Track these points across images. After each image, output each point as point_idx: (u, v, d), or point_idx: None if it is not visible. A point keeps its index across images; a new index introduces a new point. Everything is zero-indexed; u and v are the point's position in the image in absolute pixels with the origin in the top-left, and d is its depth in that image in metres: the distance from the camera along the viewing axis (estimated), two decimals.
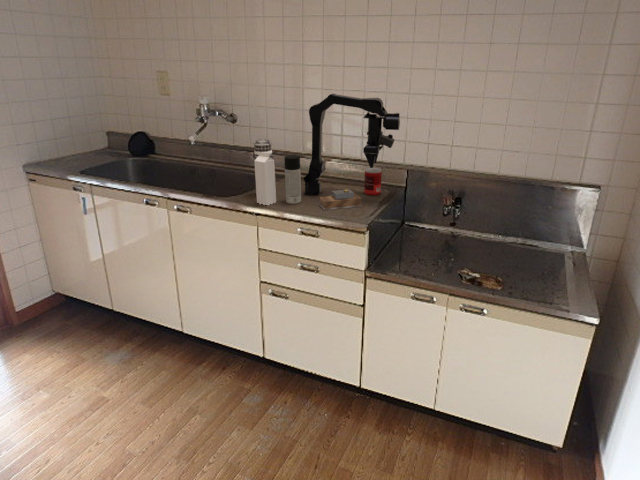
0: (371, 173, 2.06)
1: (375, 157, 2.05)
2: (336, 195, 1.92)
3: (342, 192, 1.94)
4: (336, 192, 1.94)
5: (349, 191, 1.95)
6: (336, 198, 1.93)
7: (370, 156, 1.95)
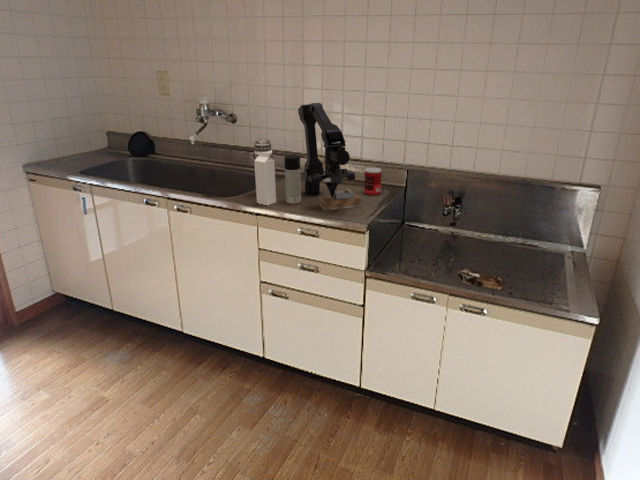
0: (371, 173, 2.06)
1: None
2: (337, 195, 1.92)
3: (343, 192, 1.94)
4: (337, 192, 1.94)
5: (350, 191, 1.95)
6: (337, 198, 1.93)
7: None
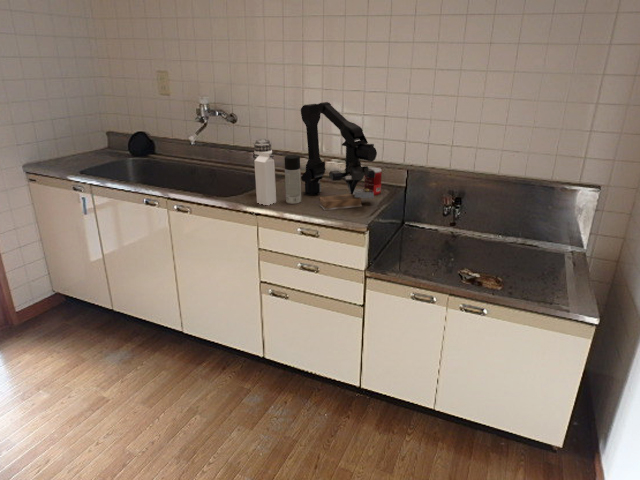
0: None
1: None
2: (356, 193, 1.94)
3: (362, 191, 1.96)
4: (357, 190, 1.96)
5: (370, 191, 1.97)
6: (355, 196, 1.95)
7: None
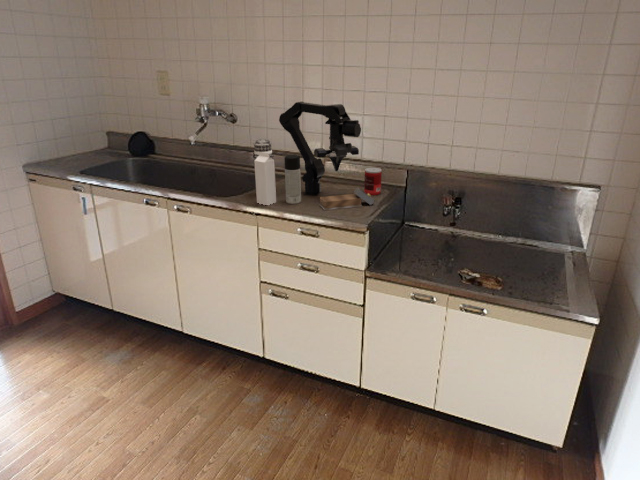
0: (371, 173, 2.06)
1: None
2: (360, 191, 1.94)
3: (365, 193, 1.96)
4: (361, 190, 1.96)
5: (371, 197, 1.98)
6: (358, 194, 1.94)
7: (333, 159, 2.01)
